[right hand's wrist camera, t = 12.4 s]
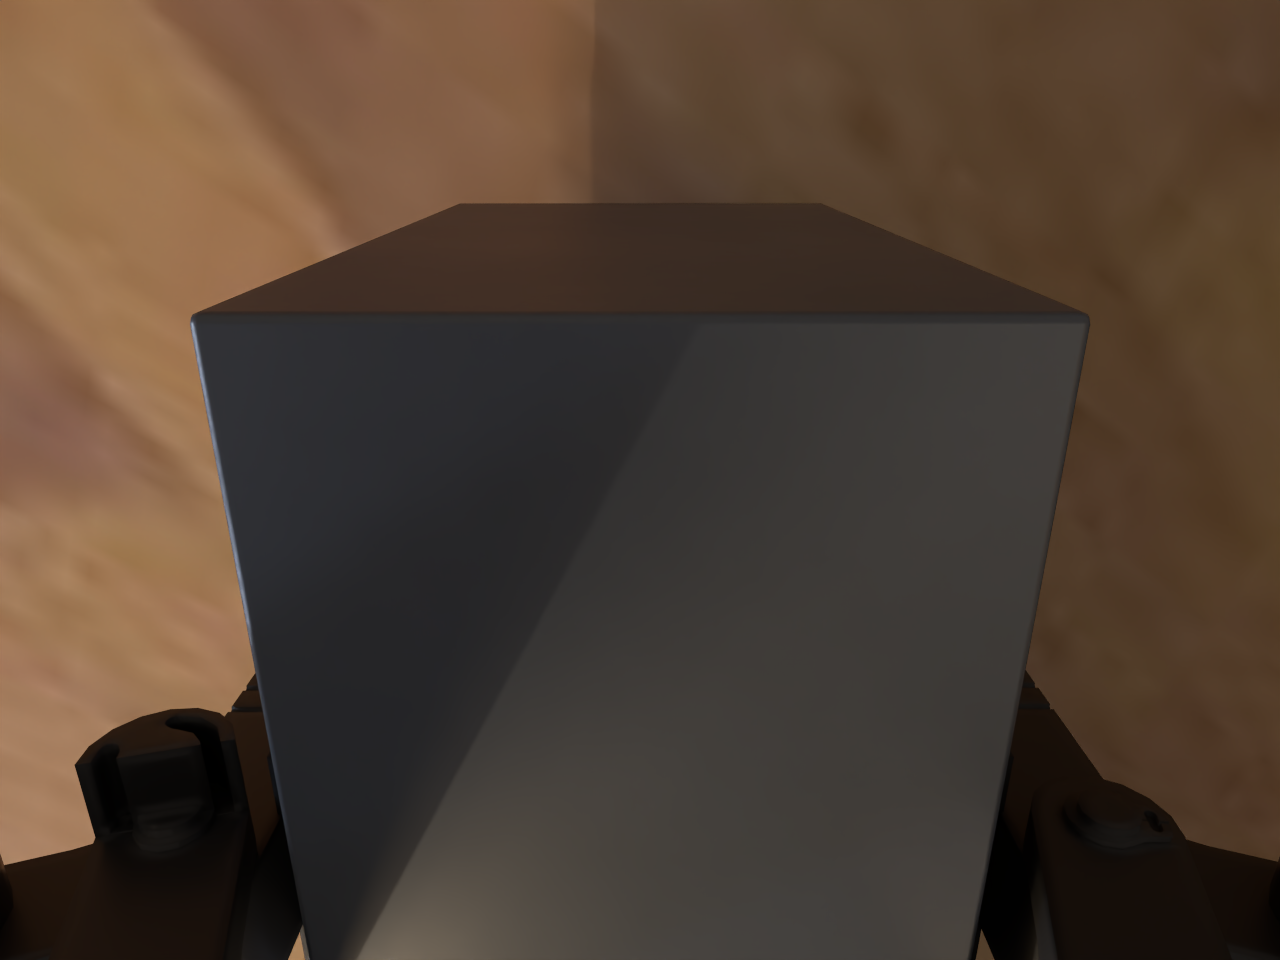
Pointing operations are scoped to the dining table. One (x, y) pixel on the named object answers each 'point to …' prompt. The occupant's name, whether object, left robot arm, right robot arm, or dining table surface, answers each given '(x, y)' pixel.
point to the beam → (640, 577)
